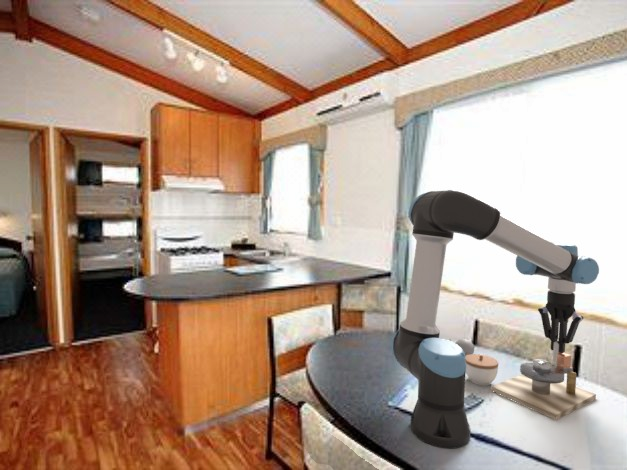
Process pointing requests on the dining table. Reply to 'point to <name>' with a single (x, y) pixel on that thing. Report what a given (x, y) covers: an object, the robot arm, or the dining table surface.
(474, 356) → the lidded jar
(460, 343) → the round bodied animal figurine
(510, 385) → the flange base
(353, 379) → the dining table surface
